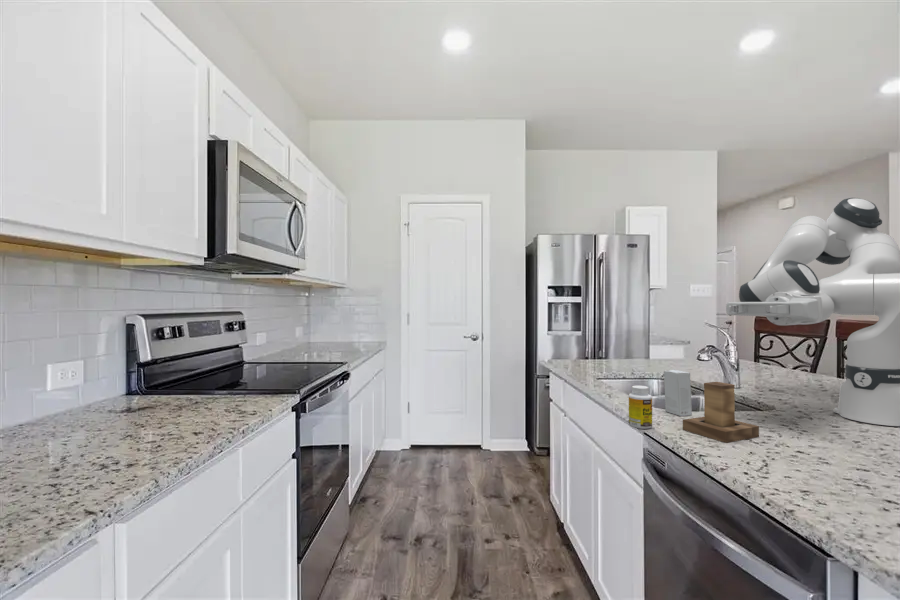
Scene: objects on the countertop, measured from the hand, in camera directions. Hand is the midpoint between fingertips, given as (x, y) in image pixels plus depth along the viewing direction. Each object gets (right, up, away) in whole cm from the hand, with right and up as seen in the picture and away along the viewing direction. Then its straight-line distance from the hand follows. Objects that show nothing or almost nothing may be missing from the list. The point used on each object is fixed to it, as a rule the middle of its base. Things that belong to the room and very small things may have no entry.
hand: (749, 309), depth 112 cm
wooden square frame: (-10, -30, -4) cm, 32 cm away
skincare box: (-10, -30, +15) cm, 35 cm away
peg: (-10, -30, -4) cm, 32 cm away
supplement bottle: (-27, -30, +2) cm, 40 cm away
